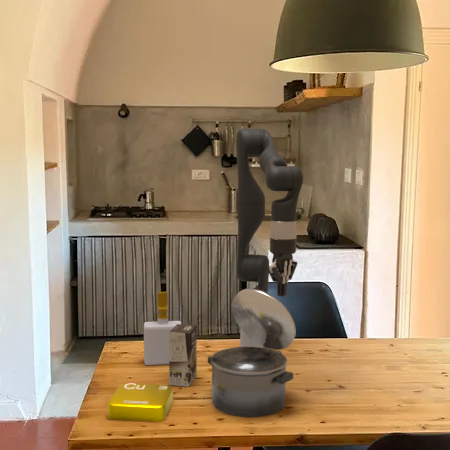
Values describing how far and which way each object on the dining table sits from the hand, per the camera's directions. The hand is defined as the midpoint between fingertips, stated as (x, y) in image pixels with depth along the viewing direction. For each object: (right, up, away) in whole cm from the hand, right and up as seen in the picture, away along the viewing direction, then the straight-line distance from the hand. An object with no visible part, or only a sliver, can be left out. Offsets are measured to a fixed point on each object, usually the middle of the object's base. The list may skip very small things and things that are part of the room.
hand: (281, 295), depth 175 cm
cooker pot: (-10, -28, -9) cm, 31 cm away
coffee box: (-29, -26, +5) cm, 39 cm away
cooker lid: (-6, -6, -7) cm, 11 cm away
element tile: (-39, -29, -14) cm, 50 cm away
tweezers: (-17, -26, +13) cm, 34 cm away
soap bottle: (-37, -24, +21) cm, 49 cm away
